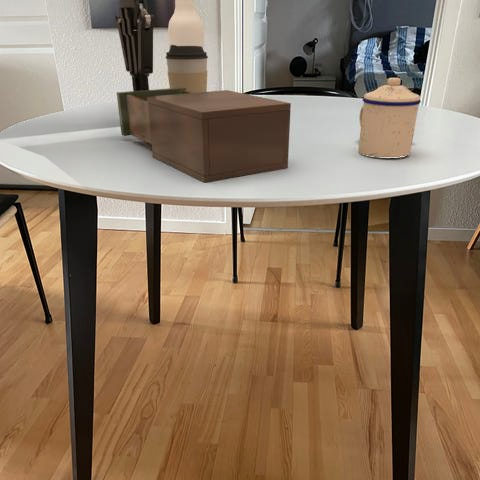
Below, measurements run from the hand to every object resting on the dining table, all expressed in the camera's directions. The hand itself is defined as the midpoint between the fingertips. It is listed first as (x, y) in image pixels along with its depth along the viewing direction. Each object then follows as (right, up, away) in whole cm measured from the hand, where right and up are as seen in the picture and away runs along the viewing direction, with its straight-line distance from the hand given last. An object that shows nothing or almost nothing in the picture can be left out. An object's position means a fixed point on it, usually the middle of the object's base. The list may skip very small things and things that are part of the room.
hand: (143, 112), depth 99 cm
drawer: (+7, -8, -8) cm, 13 cm away
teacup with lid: (+43, -12, -13) cm, 47 cm away
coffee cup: (+8, +4, +13) cm, 16 cm away
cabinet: (+16, -16, -19) cm, 29 cm away
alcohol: (+6, +16, +33) cm, 38 cm away
